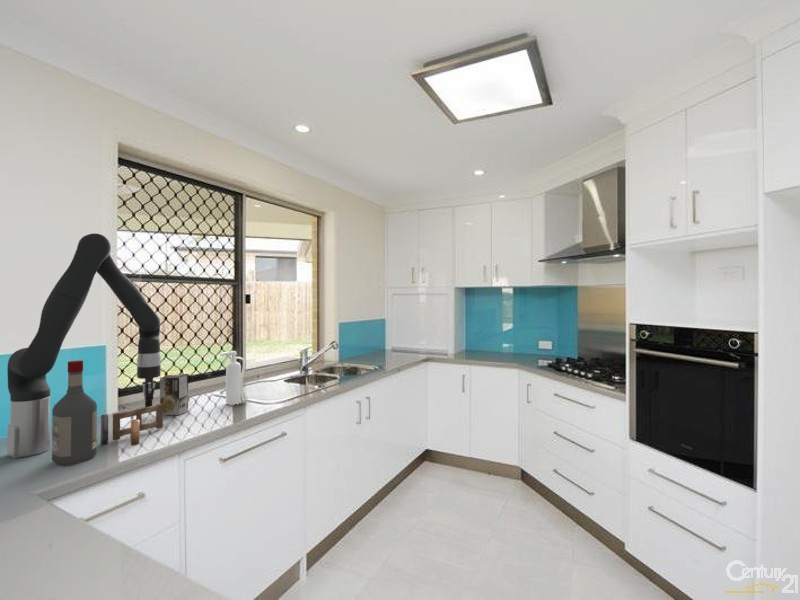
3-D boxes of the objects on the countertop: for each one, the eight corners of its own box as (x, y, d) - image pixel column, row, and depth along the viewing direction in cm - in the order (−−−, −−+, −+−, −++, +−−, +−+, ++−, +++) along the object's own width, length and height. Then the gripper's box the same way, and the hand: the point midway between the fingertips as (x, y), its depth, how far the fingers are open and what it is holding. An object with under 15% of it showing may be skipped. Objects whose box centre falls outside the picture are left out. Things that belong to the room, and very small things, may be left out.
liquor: (62, 468, 111) (63, 364, 111) (49, 461, 116) (49, 362, 116) (99, 457, 119) (100, 360, 119) (85, 451, 124) (86, 358, 124)
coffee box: (188, 411, 169) (189, 374, 169) (179, 415, 163) (179, 377, 163) (169, 410, 170) (169, 374, 170) (159, 414, 164) (159, 377, 164)
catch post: (132, 445, 129) (133, 421, 129) (129, 444, 130) (129, 420, 130) (140, 443, 131) (140, 420, 131) (137, 442, 132) (137, 418, 132)
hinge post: (102, 445, 129) (102, 415, 129) (99, 444, 130) (99, 414, 130) (109, 443, 130) (109, 414, 130) (106, 442, 131) (106, 413, 131)
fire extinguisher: (248, 403, 182) (247, 350, 182) (220, 406, 178) (219, 352, 178) (249, 400, 188) (248, 349, 189) (222, 403, 184) (221, 351, 185)
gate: (114, 440, 132) (114, 414, 132) (112, 439, 133) (112, 413, 133) (162, 427, 145) (162, 404, 145) (160, 427, 146) (160, 403, 146)
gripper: (162, 366, 143) (161, 412, 143) (159, 361, 154) (158, 404, 154) (137, 368, 139) (137, 416, 139) (136, 363, 149) (136, 407, 149)
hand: (148, 410), depth 146 cm, fingers closed
